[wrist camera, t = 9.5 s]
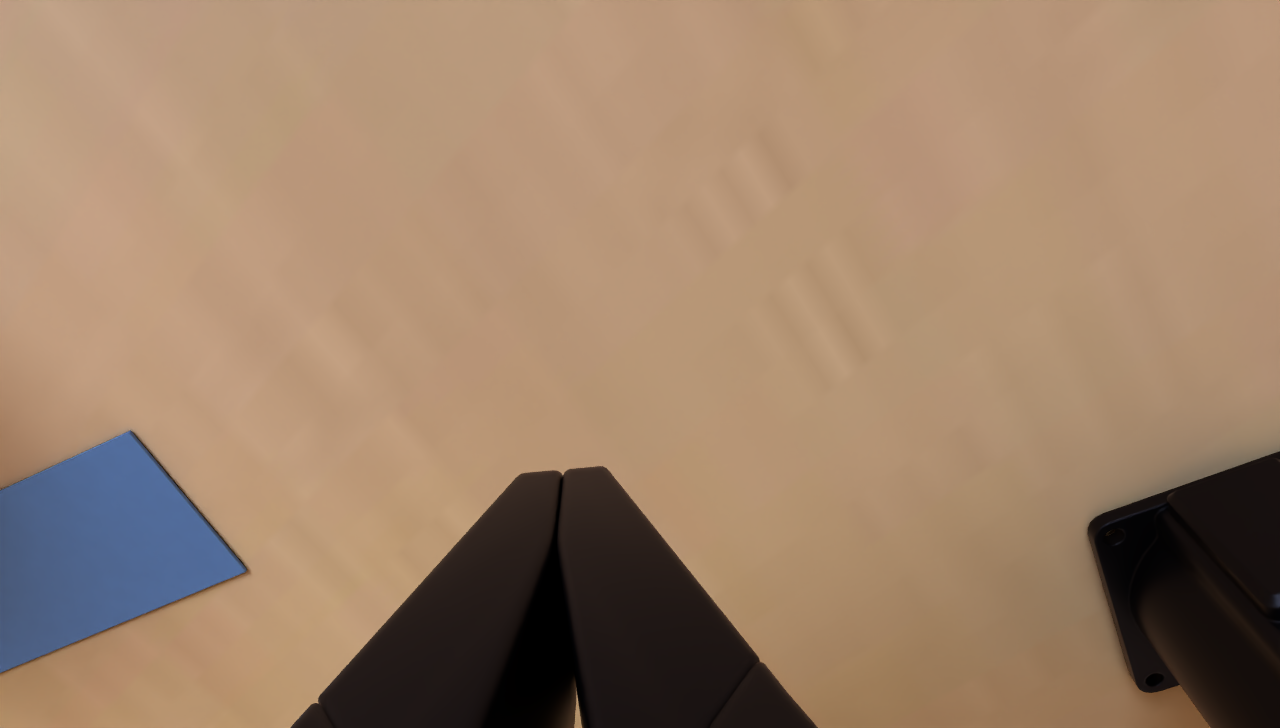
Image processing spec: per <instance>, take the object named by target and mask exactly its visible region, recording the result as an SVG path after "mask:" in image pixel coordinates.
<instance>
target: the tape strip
mask: <svg viewBox="0 0 1280 728" xmlns="http://www.w3.org/2000/svg"><path fill="white" fill-rule="evenodd" d="M246 571H247V569H246V568H245V566H244V565H243V564H242V563H241V562H240V560H239V559H238V558H237V557H236V556H235V555H234V553H233V552H232V551H231V550H230V549H229V547H228V546H227V545H226V544H225V543H224V541H223V540H222V539H221V538H220V537H219V535H218V534H217V533H216V532H215V531H214V529H213V528H212V527H211V526H210V525H209V524H208V522H207V521H206V520H205V519H204V518H203V516H202V515H201V514H200V513H199V512H198V510H197V509H196V508H195V507H194V506H193V504H192V503H191V502H190V501H189V500H188V498H187V497H186V496H185V495H184V494H183V492H182V491H181V490H180V489H179V488H178V487H177V485H176V484H175V483H174V482H173V481H172V479H171V478H170V477H169V476H168V475H167V473H166V472H165V471H164V470H163V469H162V467H161V466H160V465H159V464H158V463H157V461H156V460H155V459H154V458H153V457H152V456H151V454H150V453H149V452H148V451H147V450H146V448H145V447H144V446H143V445H142V444H141V442H140V441H139V440H138V439H137V438H136V436H135V435H134V434H133V433H132V432H131V431H128V432H126V433H124V434H122V435H120V436H117V437H115V438H113V439H111V440H109V441H107V442H104V443H102V444H100V445H98V446H96V447H94V448H91V449H89V450H87V451H85V452H83V453H81V454H78V455H76V456H74V457H72V458H70V459H67V460H65V461H63V462H61V463H59V464H57V465H54V466H52V467H50V468H48V469H46V470H44V471H41V472H39V473H37V474H35V475H33V476H31V477H28V478H26V479H24V480H22V481H20V482H17V483H15V484H13V485H11V486H9V487H7V488H4V489H2V490H0V673H1V672H4V671H6V670H8V669H11V668H13V667H16V666H18V665H21V664H23V663H25V662H28V661H30V660H33V659H35V658H38V657H40V656H42V655H45V654H47V653H50V652H52V651H55V650H57V649H59V648H62V647H64V646H67V645H69V644H72V643H74V642H76V641H79V640H81V639H84V638H86V637H89V636H91V635H93V634H96V633H98V632H101V631H103V630H106V629H108V628H110V627H113V626H115V625H118V624H120V623H123V622H125V621H127V620H130V619H132V618H135V617H137V616H140V615H142V614H144V613H147V612H149V611H152V610H154V609H157V608H159V607H162V606H164V605H166V604H169V603H171V602H174V601H176V600H179V599H181V598H183V597H186V596H188V595H191V594H193V593H196V592H198V591H200V590H203V589H205V588H208V587H210V586H213V585H215V584H217V583H220V582H222V581H225V580H227V579H230V578H232V577H234V576H237V575H239V574H242V573H244V572H246Z"/></svg>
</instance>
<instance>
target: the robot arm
mask: <svg viewBox="0 0 1280 728" xmlns="http://www.w3.org/2000/svg"><path fill="white" fill-rule="evenodd" d="M1114 529H1116V530H1115V531H1114V532H1113V533H1112V534H1110V535H1106V534H1107V532H1109V531H1111V530H1114ZM1105 535H1106V536H1105ZM1088 537H1089V540H1090V543H1091V547H1092V550H1093V553H1094V557H1095V560H1096V564H1097V567H1098V570H1099V574H1100V577H1101V580H1102V584H1103V587H1104V590H1105V594H1106V597H1107V600H1108V604H1109V607H1110V610H1111V614H1112V617H1113V620H1114V624H1115V627H1116V630H1117V634H1118V637H1119V640H1120V644H1121V647H1122V650H1123V654H1124V657H1125V660H1126V664H1127V667H1128V670H1129V674H1130V676H1131V677H1132V679H1133V680H1134V682H1135V683H1136V685H1137V686H1138V688H1139V689H1140V690H1141V691H1143V692H1148V693H1153V692H1158V691H1162V690H1165V689H1168V688H1171V687H1174V686H1178V685H1180V686H1181V687H1182V688H1183V690H1184V691H1185V693H1186V694H1187V695H1188V697H1189V698H1190V699H1191V701H1192V702H1193V704H1194V705H1195V706H1196V708H1197V709H1198V711H1199V712H1200V713H1201V715H1202V716H1203V718H1204V719H1205V720H1206V722H1207V723H1208V724H1209V726H1210V727H1211V728H1280V452H1277V453H1274V454H1271V455H1268V456H1265V457H1262V458H1260V459H1257V460H1254V461H1251V462H1248V463H1245V464H1242V465H1240V466H1237V467H1234V468H1231V469H1228V470H1225V471H1223V472H1220V473H1217V474H1214V475H1211V476H1208V477H1205V478H1203V479H1200V480H1197V481H1194V482H1191V483H1188V484H1185V485H1183V486H1180V487H1177V488H1174V489H1171V490H1168V491H1166V492H1163V493H1160V494H1157V495H1154V496H1151V497H1148V498H1146V499H1143V500H1140V501H1137V502H1134V503H1131V504H1128V505H1126V506H1123V507H1120V508H1117V509H1114V510H1111V511H1109V512H1106V513H1103V514H1101V515H1099V516H1097V517H1095V518H1094V519H1093V520H1092V521H1091V522H1090V524H1089V527H1088ZM576 688H577V695H578V702H579V709H580V716H581V723H582V728H818V727H817V726H816V725H815V724H814V723H813V721H812V720H811V719H810V718H809V717H808V716H807V715H806V713H805V712H804V711H803V710H802V709H801V708H800V707H799V705H798V704H797V703H796V702H795V701H794V700H793V698H792V697H791V696H790V695H789V694H788V693H787V691H786V690H785V689H784V688H783V686H782V685H781V684H780V683H779V681H778V680H777V679H776V678H775V676H774V675H773V674H772V673H771V671H770V670H769V669H768V668H767V666H766V665H765V664H764V663H762V662H760V661H759V657H758V656H757V655H756V653H755V652H754V651H753V650H752V648H751V647H750V646H749V645H748V643H747V642H746V641H745V640H744V638H743V637H742V636H741V635H740V633H739V632H738V631H737V630H736V628H735V627H734V626H733V625H732V623H731V622H730V621H729V620H728V618H727V617H726V616H725V615H724V613H723V612H722V611H721V610H720V609H719V607H718V606H717V605H716V604H715V602H714V601H713V600H712V599H711V597H710V596H709V595H708V594H707V592H706V591H705V590H704V589H703V587H702V586H701V585H700V584H699V582H698V581H697V580H696V579H695V577H694V576H693V575H692V574H691V572H690V571H689V570H688V569H687V567H686V566H685V565H684V564H683V562H682V561H681V560H680V559H679V557H678V556H677V555H676V554H675V552H674V551H673V550H672V549H671V547H670V546H669V545H668V544H667V543H666V541H665V540H664V539H663V538H662V536H661V535H660V534H659V533H658V531H657V530H656V529H655V528H654V526H653V525H652V524H651V523H650V521H649V520H648V519H647V518H646V516H645V515H644V514H643V513H642V511H641V510H640V509H639V508H638V506H637V505H636V504H635V503H634V501H633V500H632V499H631V498H630V496H629V495H628V494H627V493H626V491H625V490H624V489H623V488H622V486H621V485H620V484H619V483H618V481H617V480H616V479H615V478H614V476H613V475H612V474H611V473H610V472H609V470H608V469H607V468H605V467H603V466H597V467H587V468H576V469H569V470H567V471H566V472H565V473H564V475H562V474H561V473H560V472H559V471H554V470H553V471H542V472H530V473H523V474H520V475H519V476H518V477H516V478H515V480H514V481H513V482H512V483H511V484H510V485H509V486H508V487H507V488H506V490H505V491H504V492H503V493H502V494H501V495H500V496H499V497H498V498H497V500H496V501H495V502H494V503H493V504H492V505H491V506H490V507H489V508H488V510H487V511H486V512H485V513H484V514H483V515H482V516H481V517H480V518H479V519H478V521H477V522H476V523H475V524H474V525H473V526H472V527H471V528H470V529H469V531H468V532H467V533H466V534H465V535H464V536H463V537H462V538H461V539H460V541H459V542H458V543H457V544H456V545H455V546H454V547H453V548H452V549H451V551H450V552H449V553H448V554H447V555H446V556H445V557H444V558H443V559H442V561H441V562H440V563H439V564H438V565H437V566H436V567H435V568H434V569H433V571H432V572H431V573H430V574H429V575H428V576H427V577H426V578H425V579H424V581H423V582H422V583H421V584H420V585H419V586H418V587H417V588H416V589H415V591H414V592H413V593H412V594H411V595H410V596H409V597H408V598H407V599H406V601H405V602H404V603H403V604H402V605H401V606H400V607H399V608H398V609H397V610H396V612H395V613H394V614H393V615H392V616H391V617H390V618H389V619H388V620H387V622H386V623H385V624H384V625H383V626H382V627H381V628H380V629H379V630H378V632H377V633H376V634H375V635H374V636H373V637H372V638H371V639H370V640H369V642H368V643H367V644H366V645H365V646H364V647H363V648H362V649H361V650H360V652H359V653H358V654H357V655H356V656H355V657H354V658H353V659H352V660H351V662H350V663H349V664H348V665H347V666H346V667H345V668H344V669H343V670H342V672H341V673H340V674H339V675H338V676H337V677H336V678H335V679H334V680H333V682H332V683H331V684H330V685H329V686H328V687H327V688H326V689H325V690H324V692H323V693H322V694H321V695H320V696H319V698H318V702H319V704H318V703H314V704H312V705H310V707H309V708H308V709H307V710H306V711H305V712H304V713H303V714H302V715H301V716H300V718H299V719H298V720H297V721H296V722H295V723H294V724H293V725H292V726H291V728H574V724H575V710H576Z"/></svg>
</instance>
